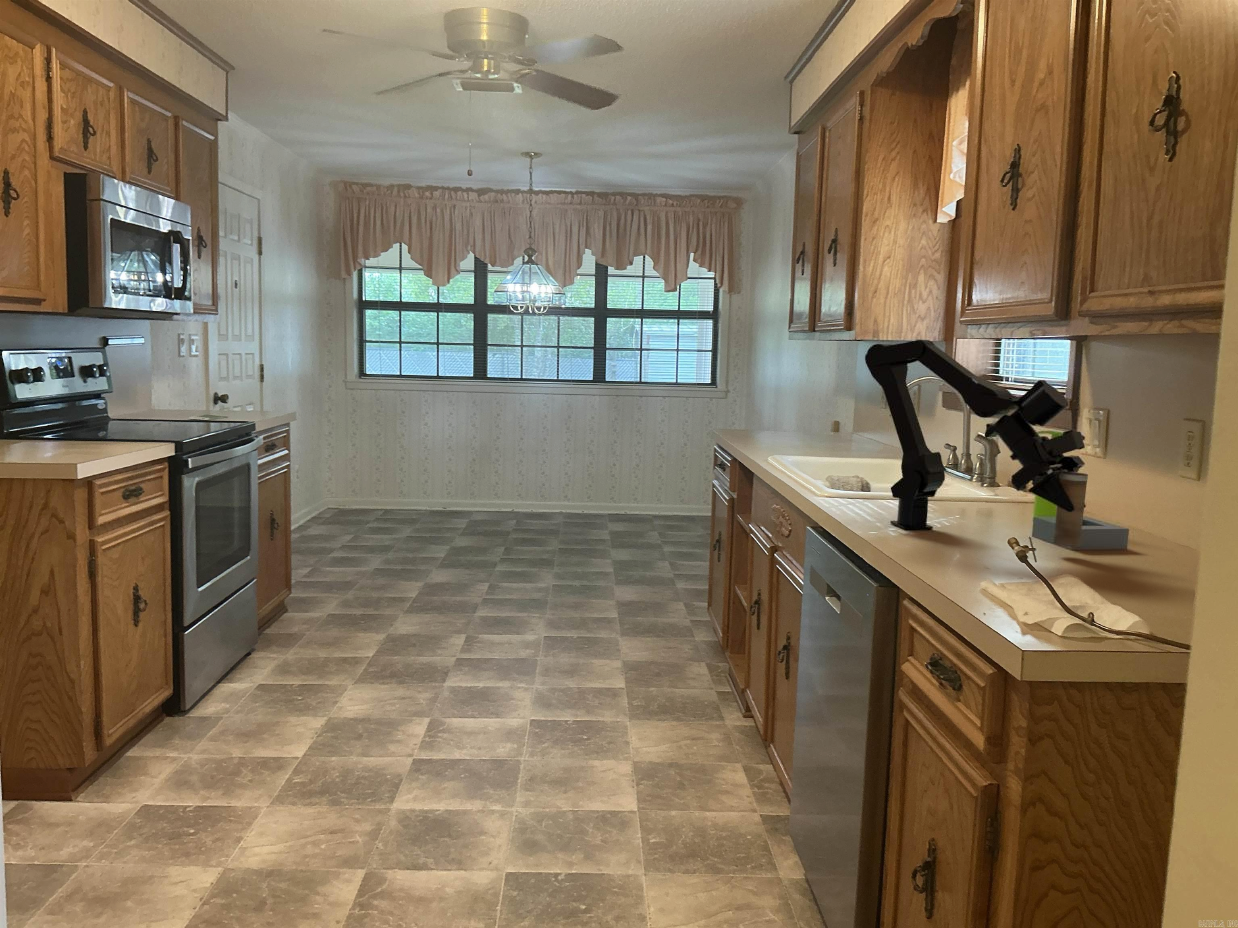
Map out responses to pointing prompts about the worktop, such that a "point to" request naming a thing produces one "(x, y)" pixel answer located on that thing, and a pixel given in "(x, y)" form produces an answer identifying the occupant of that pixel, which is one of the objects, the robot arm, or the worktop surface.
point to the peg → (1071, 522)
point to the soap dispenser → (1041, 505)
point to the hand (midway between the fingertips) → (1078, 509)
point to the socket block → (1085, 534)
